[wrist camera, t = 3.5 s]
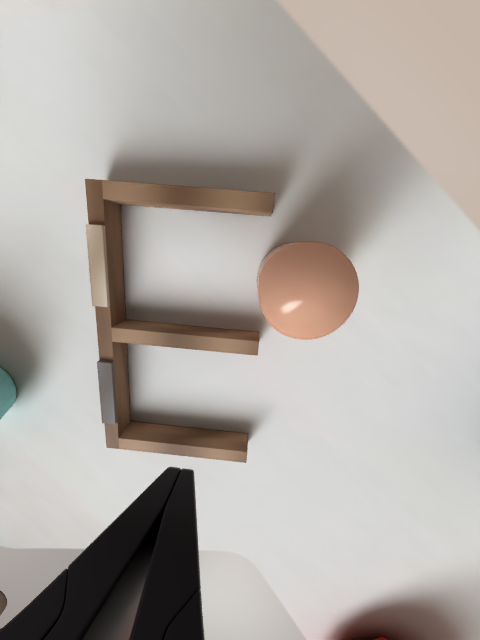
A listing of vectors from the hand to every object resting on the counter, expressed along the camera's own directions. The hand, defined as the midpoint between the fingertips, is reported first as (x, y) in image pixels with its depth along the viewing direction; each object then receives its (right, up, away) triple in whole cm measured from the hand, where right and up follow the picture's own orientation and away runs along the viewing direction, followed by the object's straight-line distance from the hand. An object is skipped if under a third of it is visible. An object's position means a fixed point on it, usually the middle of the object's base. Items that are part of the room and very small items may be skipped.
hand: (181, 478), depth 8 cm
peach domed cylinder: (+6, +8, +9) cm, 13 cm away
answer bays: (-2, +4, +11) cm, 12 cm away
